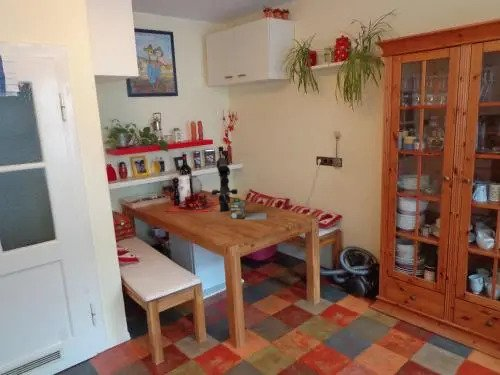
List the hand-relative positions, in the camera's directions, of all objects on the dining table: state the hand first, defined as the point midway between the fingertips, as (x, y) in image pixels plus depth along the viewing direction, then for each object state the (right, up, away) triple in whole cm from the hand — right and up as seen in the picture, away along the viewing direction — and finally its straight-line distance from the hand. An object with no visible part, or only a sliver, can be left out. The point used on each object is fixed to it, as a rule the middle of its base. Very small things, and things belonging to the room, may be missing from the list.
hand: (225, 203), depth 273 cm
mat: (+23, -10, +1) cm, 25 cm away
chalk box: (+10, -11, +2) cm, 14 cm away
